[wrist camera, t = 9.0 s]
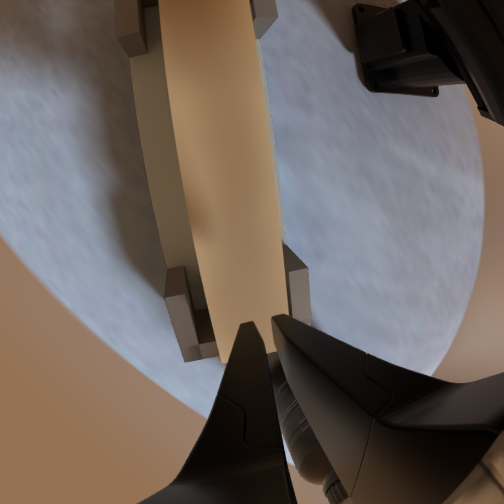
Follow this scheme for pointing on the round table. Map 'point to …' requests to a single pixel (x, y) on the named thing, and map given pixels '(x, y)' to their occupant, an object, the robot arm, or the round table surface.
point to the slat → (225, 162)
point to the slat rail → (170, 181)
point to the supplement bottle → (305, 442)
